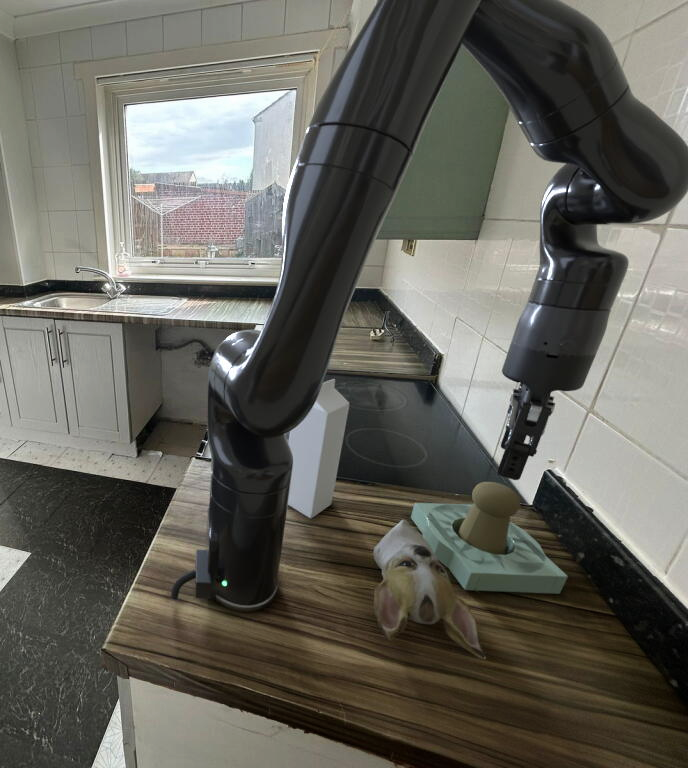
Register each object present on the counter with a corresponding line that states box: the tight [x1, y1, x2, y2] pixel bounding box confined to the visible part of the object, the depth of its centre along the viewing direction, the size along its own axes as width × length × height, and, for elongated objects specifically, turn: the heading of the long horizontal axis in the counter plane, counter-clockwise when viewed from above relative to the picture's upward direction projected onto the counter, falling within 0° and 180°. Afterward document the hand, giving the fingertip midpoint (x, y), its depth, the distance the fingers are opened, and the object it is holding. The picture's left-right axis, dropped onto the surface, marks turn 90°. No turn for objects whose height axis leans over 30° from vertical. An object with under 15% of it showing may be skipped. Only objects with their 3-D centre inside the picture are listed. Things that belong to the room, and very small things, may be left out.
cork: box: [457, 481, 521, 555], centre depth 56 cm, size 6×6×11 cm
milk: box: [288, 378, 350, 520], centre depth 64 cm, size 6×6×22 cm
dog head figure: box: [373, 519, 487, 661], centre depth 49 cm, size 11×9×15 cm
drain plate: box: [410, 502, 569, 595], centre depth 58 cm, size 14×14×3 cm
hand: (508, 462), depth 53 cm, fingers open, 8 cm apart
